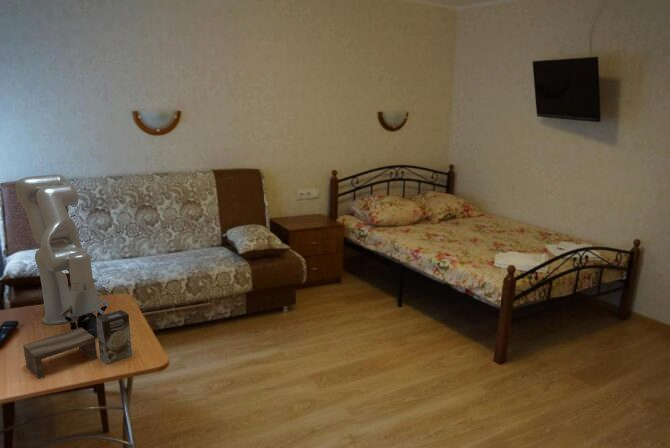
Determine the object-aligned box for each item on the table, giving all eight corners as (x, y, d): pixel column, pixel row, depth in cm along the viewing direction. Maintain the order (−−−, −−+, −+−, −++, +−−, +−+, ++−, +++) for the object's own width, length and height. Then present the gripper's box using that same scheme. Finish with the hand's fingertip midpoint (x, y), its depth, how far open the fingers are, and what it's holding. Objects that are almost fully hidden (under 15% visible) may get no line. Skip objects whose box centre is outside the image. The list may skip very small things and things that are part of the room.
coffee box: (107, 364, 175) (102, 321, 172) (99, 358, 180) (94, 316, 176) (133, 355, 182) (128, 314, 178) (125, 349, 186) (121, 309, 182)
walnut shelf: (26, 366, 174) (23, 344, 172) (83, 347, 188) (81, 327, 186) (38, 378, 166) (35, 356, 165) (97, 358, 180) (94, 337, 178)
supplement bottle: (90, 342, 191) (87, 313, 189) (74, 341, 193) (71, 311, 190) (102, 334, 198) (99, 306, 195) (86, 333, 199) (83, 304, 197)
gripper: (101, 277, 199) (106, 317, 203) (54, 288, 187) (60, 331, 190) (109, 281, 194) (114, 323, 198) (61, 293, 182) (67, 337, 185)
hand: (87, 327), depth 194 cm, fingers open, 9 cm apart
